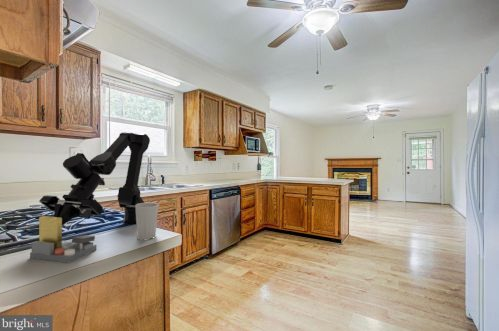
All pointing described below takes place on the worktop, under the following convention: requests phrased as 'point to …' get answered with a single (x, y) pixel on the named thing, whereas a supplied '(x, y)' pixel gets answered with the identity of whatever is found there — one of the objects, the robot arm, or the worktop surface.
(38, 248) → the console
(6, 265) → the worktop surface
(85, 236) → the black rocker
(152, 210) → the cup
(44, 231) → the yellow flat block
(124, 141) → the robot arm
